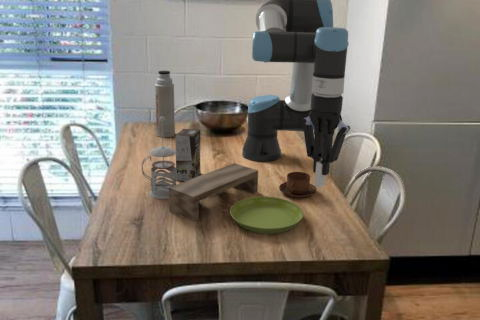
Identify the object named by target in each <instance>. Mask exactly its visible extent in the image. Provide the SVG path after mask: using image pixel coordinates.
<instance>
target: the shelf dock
mask: <svg viewBox="0 0 480 320" xmlns="http://www.w3.org/2000/svg"><path fill="white" fill-rule="evenodd" d="M258 183H259V170H258V169H256V168H255V169H254V168H251V167H248V166H244V165H241V164H239V163H235V162H234V163H231V164H229V165H226V166H222V167H221V168H218V169H215V170H212V171H209V172H207V173H204V174H201V175H198V177H196V178H193V179H190V180H188V181H183V182H180V183H178V184H177V183H176V185H174V186H171V187H169V200H168V204H169V205H168V206H169V207H168V208H169V209H168V210H169V212H170V213H173V214H175V215H178V216H180V217H181V218H184V219H187V220H189V221H191V222H195V221H198V220H199V219H200V217H199V213H200V211H199V210H200V209H199V208H200V207H199V204H200V202H201V201H203V200H205V199H208V198H210V197H212V196H217V195H220V194H223V193H225V192H226V191H227V190H229V189H232V188H235V189H238V190H241V191H244V192H247V193H250V194H253V195H254V194H257V193H258V189H259V188H258V186H259V184H258Z"/></svg>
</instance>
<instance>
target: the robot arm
mask: <svg viewBox="0 0 480 320" xmlns="http://www.w3.org/2000/svg"><path fill="white" fill-rule="evenodd" d="M255 15H256V16H255V24H256V27H257V29H258V31H254V32H253V34H252V45H251V46H252V49H251V58H252V60H253V61H254V62H262V63H292V75H291V82H290V92H289V93H287V95H286V97H285V99H283V100H282V99H281V98H280V97H279V96H278V95H273V94H267V95H265V94H264V95H259V96H255V97H252V98H251V99H250V100H249V101H248V106H247V107H248V108H247V131H246V133H247V136H246V138H245V141H244V144H243V147H242V150H241V151H242V153H241V154H242V157H244V158H245V159H247V160H250V161H255V162H271V161H272V162H273V161H276V160H279V159H280V158H281V155H282V150H281V146H280V141H279V139H278V131H283V132H284V131H285V132H286V131H287V132H303V135H304V143H305V149H306V156H307V157H308V158H311V159H312V160H313V164H312V165H313V167H312V171H313V173H315V176H314V186H315V187H316V188H322V187H324V186H326V180H327V178H326V177H327V175H329V174H330V167H331V165H330V164H331V163H334V162H336V161H337V160H338V159H339V156H340V153H341V150H342V148H343V144H344V141H345V139H346V135H347V134H348V133H349V132H350V130H351V126H350V125H346V124H345V123H344V122H343V117H342V109H343V100H344V96H343V95H342V94H344V90H345V77H346V65H347V55H348V47H349V31H348V30H347V29H346V28H344V27H334V10H333V4H332V1H331V0H268V1H266V2H265V3H263V4H262V5H261V6H260V7H259V8H258V10H257V12H256V14H255ZM336 129H337V134H336V135H335V130H336ZM334 135H335V138H334ZM333 138H334V139H333Z"/></svg>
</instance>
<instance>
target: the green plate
mask: <svg viewBox="0 0 480 320" xmlns="http://www.w3.org/2000/svg"><path fill="white" fill-rule="evenodd" d="M229 213H230V215H231V217H232V219H233V220H234V221H235V223H236V224H237V225H239V226H240V227H242V228H243V229H244V230H247V231H249V232H251V233H257V234H263V235H273V234H274V235H275V234H276V235H277V234H281V233H285V232H288V231H289V230H292V229H293V228H295V226H297V225H298V224H299V223H300V222H301V221H302V219H303V217H304V211H303V209H302V208H301V206H299V205H297V204H296V203H295V202H293V201H291V200H289V199H284V198H280V197H273V196H253V197H247V198H243V199H241V200H238V201H236V202H235V203H234V204H233V205H231V207H230V209H229Z"/></svg>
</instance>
